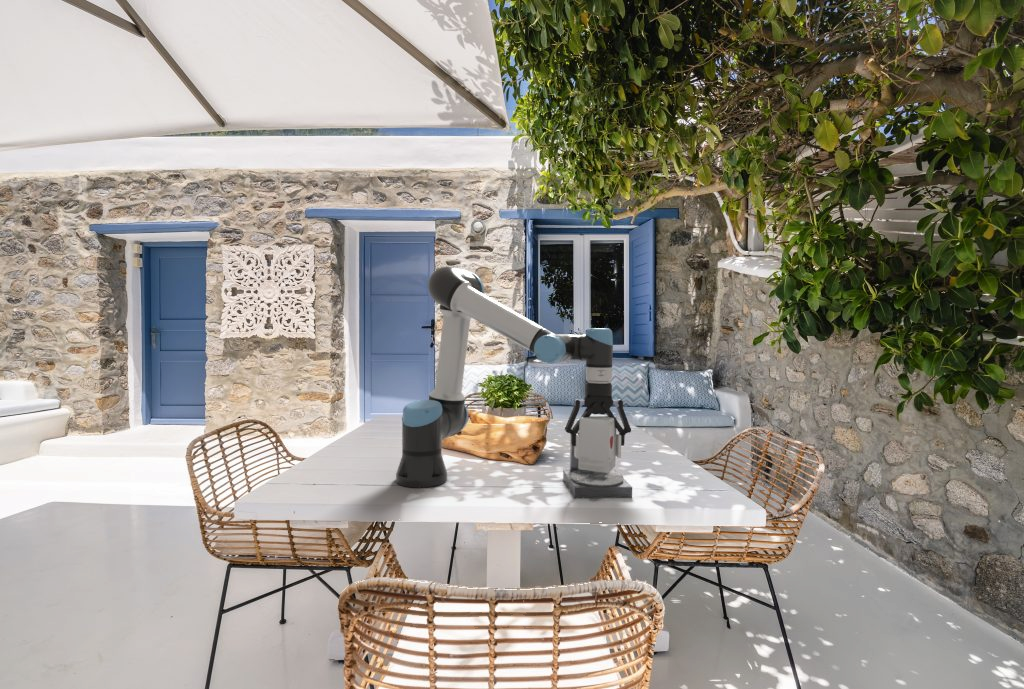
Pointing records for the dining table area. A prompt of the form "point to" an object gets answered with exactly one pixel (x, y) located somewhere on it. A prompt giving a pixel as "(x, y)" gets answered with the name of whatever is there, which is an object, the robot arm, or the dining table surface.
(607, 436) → the supplement box
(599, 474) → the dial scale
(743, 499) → the dining table surface
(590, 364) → the robot arm
